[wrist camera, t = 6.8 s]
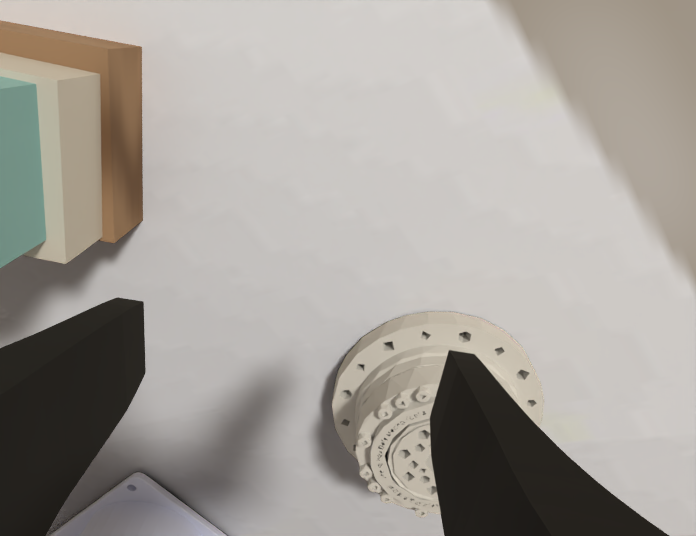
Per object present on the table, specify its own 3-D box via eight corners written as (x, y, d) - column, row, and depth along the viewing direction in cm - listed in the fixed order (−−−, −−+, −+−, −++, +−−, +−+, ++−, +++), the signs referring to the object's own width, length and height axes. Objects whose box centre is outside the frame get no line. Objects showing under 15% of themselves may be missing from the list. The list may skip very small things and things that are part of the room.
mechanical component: (295, 365, 25) (397, 491, 28) (279, 428, 21) (401, 566, 24) (478, 270, 22) (567, 422, 26) (500, 322, 18) (602, 494, 22)
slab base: (146, 217, 22) (114, 243, 19) (-13, 189, 22) (-68, 211, 19) (145, 46, 19) (107, 48, 16) (-39, 12, 19) (-108, 9, 16)
